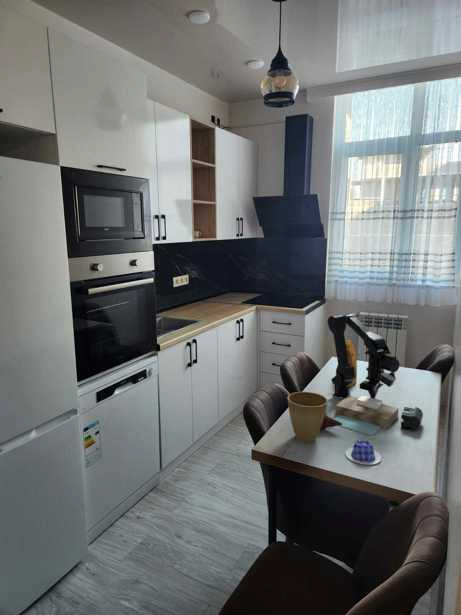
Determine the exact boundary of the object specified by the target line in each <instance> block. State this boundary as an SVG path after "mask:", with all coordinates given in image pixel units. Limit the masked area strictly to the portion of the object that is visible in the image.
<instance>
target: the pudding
mask: <svg viewBox="0 0 461 615" xmlns="http://www.w3.org/2000/svg"><path fill="white" fill-rule="evenodd" d="M345 456H346V457H347V458H348V459H349V460H350V461H352V462H355V463H357V464H360V465H367V466H370V465H376V464H379V463H380V462H381V461H382V455H381V454H380V453H379V452H378V451H376V450H374V447H373V444H372V442H370V441H368V440H364V439H360V440H359V439H357V440H356V441H355V443H354V445H353V446H351V447H348V448H347V449H346V450H345Z"/></svg>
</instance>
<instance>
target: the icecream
mask: <svg viewBox="0 0 461 615" xmlns="http://www.w3.org/2000/svg"><path fill="white" fill-rule="evenodd" d="M339 425H342V423H340V422H338V421H336V420H334V418H332V417H330V416H328V415H327V414H326V413H325V416H324V419H323V422H322V425H321V428H320V431H321V430H322V431H326V429H329V428H330V429H331V428H334V427H340V426H339Z"/></svg>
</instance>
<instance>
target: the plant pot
mask: <svg viewBox="0 0 461 615" xmlns="http://www.w3.org/2000/svg"><path fill="white" fill-rule="evenodd" d="M287 405H288V406H287V407H288V412H289V413H288V414H289V418H290V422H291V426H292V430H293V433H294V435H295V438H296V439H297V441H300V442H302V443H312V442H315V440H316V439H317V437H318V435H319V433H320V431H321V430H320V428H321V425H322V422H323V419H324V416H325V414H326V412H327V406H328V399H327V397H326V396H325V395H323V394H320V393H316V392H312V391H311V392H310V391H297V392H293V393H290V394H288V396H287Z"/></svg>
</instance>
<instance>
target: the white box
mask: <svg viewBox="0 0 461 615" xmlns="http://www.w3.org/2000/svg"><path fill="white" fill-rule="evenodd" d="M358 398H359V399H357V404H359V405H363V406H366V407H370V408H374V409H378V408H379V407H381V406H382V404H384V403H383V402H384V400H382V399H377V398H375V399H374V398H371V397H370V396H366V395H361V396H360V397H358Z"/></svg>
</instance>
